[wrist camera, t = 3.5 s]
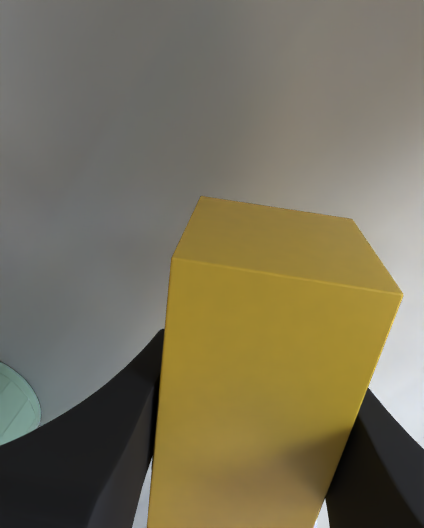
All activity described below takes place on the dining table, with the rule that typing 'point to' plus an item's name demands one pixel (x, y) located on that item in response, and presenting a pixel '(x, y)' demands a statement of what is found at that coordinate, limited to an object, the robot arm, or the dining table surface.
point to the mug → (16, 406)
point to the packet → (263, 364)
